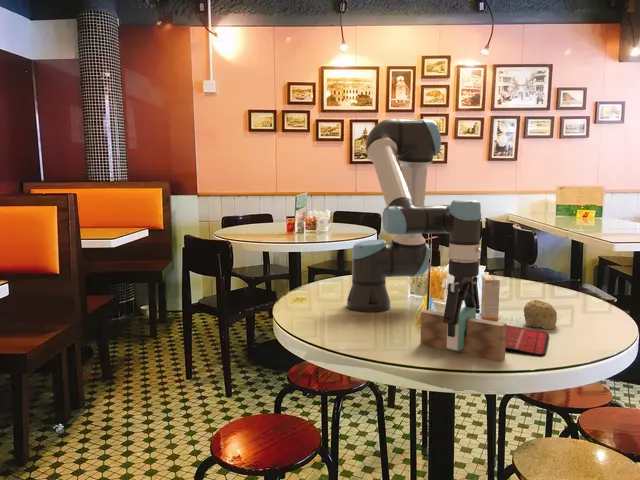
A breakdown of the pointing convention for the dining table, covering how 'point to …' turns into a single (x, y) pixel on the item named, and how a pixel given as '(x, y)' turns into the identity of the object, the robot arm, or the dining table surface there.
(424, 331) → the walnut board
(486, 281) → the supplement box
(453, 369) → the dining table surface
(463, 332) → the teal plate
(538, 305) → the decorative item
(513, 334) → the binder
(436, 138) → the robot arm
